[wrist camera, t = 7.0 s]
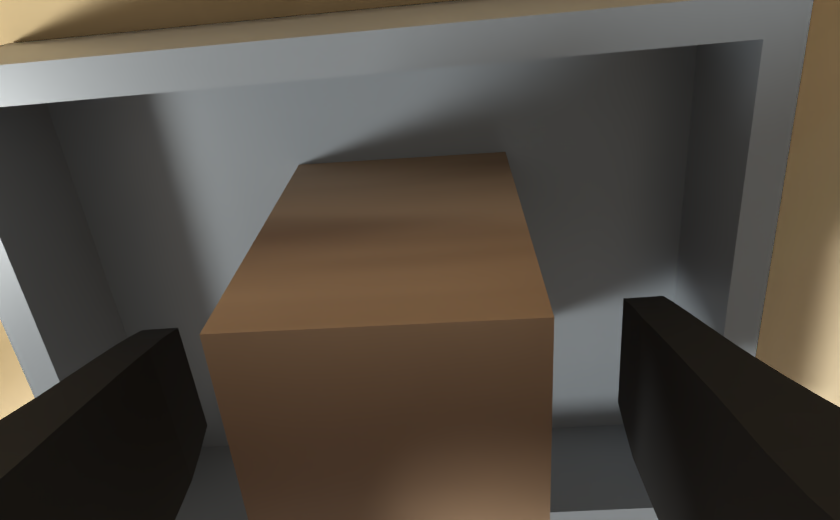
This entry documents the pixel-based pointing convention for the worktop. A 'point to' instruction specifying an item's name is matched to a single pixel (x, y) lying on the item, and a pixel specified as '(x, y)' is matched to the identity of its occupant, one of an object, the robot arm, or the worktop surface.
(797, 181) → the worktop surface
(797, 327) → the worktop surface
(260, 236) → the walnut block
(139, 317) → the bin
